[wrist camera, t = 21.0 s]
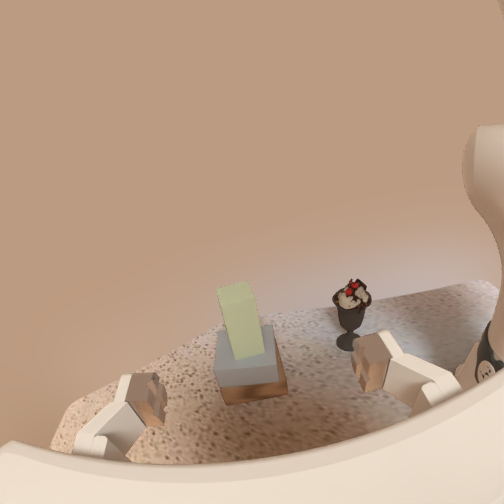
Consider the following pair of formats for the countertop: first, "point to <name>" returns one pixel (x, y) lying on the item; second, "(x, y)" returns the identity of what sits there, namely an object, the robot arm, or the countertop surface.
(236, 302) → the pillar block
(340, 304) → the sundae
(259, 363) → the tower top block
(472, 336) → the countertop surface
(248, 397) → the tower base block
